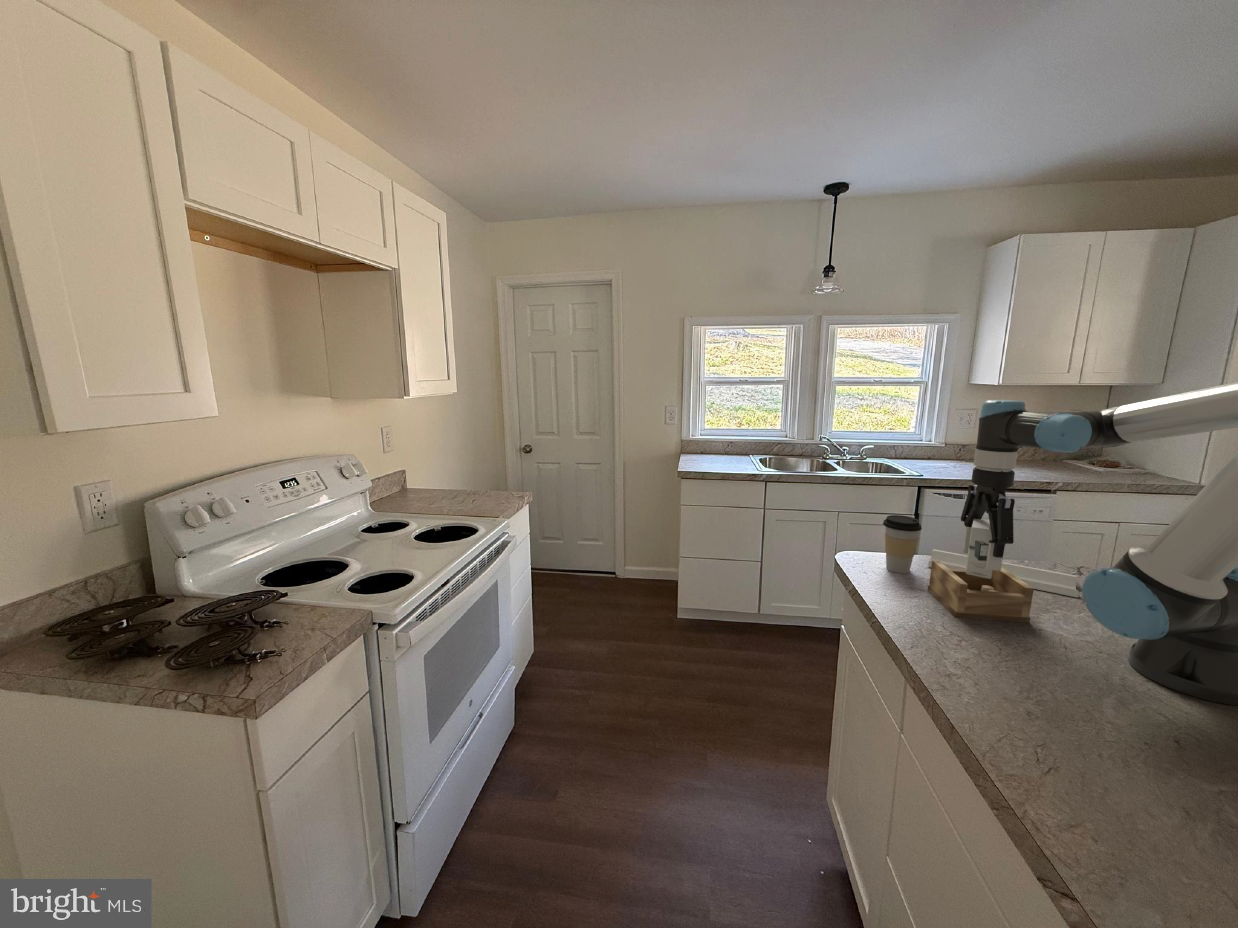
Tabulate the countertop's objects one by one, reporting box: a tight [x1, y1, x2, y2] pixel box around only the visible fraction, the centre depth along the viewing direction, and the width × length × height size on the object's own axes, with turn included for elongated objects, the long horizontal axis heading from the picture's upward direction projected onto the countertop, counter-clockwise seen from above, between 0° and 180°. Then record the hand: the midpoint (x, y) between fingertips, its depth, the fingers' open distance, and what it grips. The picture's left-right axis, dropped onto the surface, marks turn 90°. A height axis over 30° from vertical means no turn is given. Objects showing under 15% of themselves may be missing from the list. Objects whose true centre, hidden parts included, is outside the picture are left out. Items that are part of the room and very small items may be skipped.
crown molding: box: [927, 549, 1080, 599], centre depth 130 cm, size 31×12×4 cm, turn 51°
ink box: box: [966, 518, 993, 579], centre depth 110 cm, size 9×5×12 cm, turn 141°
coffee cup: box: [882, 514, 923, 574], centre depth 133 cm, size 9×9×15 cm
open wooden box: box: [927, 560, 1035, 624], centre depth 112 cm, size 14×15×8 cm
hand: (980, 560), depth 111 cm, fingers closed on ink box, 9 cm apart
